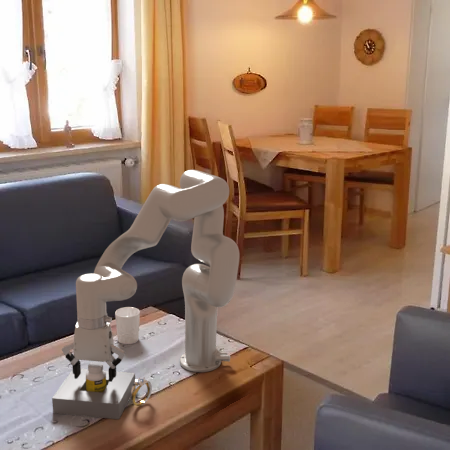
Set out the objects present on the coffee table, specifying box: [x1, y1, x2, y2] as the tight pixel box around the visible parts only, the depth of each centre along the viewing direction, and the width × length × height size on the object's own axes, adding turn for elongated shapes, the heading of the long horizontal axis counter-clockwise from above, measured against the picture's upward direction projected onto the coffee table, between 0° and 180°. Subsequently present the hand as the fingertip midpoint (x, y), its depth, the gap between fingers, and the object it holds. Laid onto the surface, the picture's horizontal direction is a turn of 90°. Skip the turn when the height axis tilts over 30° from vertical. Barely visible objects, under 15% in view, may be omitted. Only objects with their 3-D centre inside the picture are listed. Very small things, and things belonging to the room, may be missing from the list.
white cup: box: [114, 306, 141, 345], centre depth 207 cm, size 8×8×10 cm
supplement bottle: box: [86, 361, 106, 393], centre depth 172 cm, size 5×5×10 cm
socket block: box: [51, 367, 136, 420], centre depth 173 cm, size 18×16×4 cm
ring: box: [130, 377, 153, 407], centre depth 171 cm, size 7×3×8 cm, turn 137°
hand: (94, 377), depth 172 cm, fingers open, 9 cm apart
